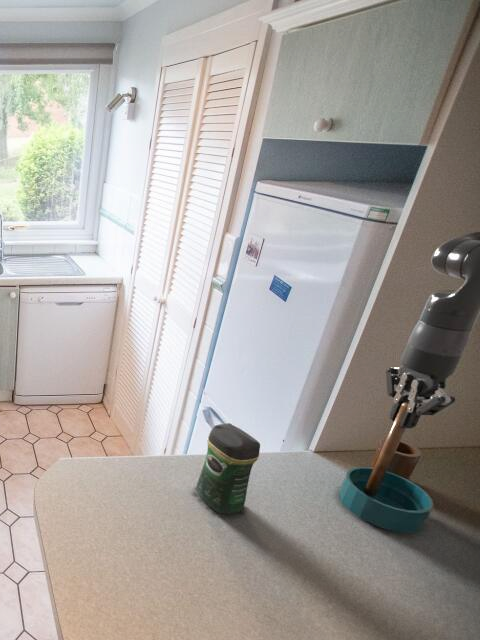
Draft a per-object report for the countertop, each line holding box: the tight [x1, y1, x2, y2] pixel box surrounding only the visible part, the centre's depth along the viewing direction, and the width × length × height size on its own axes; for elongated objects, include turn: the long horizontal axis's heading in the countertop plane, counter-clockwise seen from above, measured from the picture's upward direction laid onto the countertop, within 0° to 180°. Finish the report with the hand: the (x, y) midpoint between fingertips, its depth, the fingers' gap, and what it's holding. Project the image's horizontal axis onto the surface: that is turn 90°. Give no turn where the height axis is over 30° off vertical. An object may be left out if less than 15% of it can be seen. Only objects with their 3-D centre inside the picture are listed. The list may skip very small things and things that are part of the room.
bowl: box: [338, 466, 434, 534], centre depth 99 cm, size 14×14×6 cm
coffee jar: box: [195, 422, 261, 515], centre depth 99 cm, size 10×8×19 cm
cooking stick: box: [364, 402, 409, 498], centre depth 95 cm, size 2×2×24 cm
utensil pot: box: [368, 437, 422, 481], centre depth 108 cm, size 7×7×9 cm
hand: (400, 423), depth 92 cm, fingers closed on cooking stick, 2 cm apart
